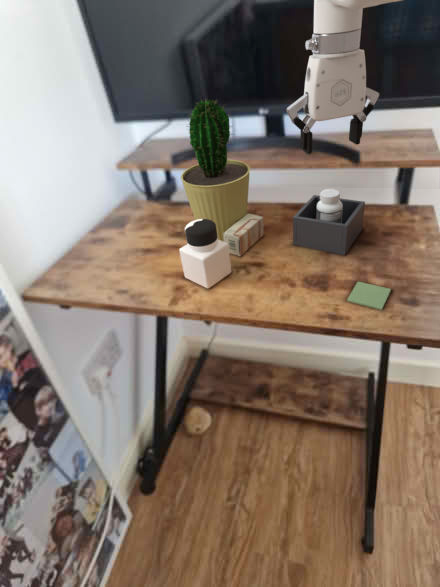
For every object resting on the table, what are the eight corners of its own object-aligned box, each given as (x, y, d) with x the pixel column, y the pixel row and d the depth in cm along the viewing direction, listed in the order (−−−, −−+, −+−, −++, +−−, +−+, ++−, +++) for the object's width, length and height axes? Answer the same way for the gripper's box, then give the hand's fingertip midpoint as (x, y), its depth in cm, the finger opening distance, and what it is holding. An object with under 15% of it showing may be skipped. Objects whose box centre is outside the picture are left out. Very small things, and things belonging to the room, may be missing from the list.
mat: (390, 290, 73) (391, 288, 73) (381, 310, 69) (382, 308, 69) (357, 282, 76) (357, 281, 75) (347, 301, 72) (347, 299, 72)
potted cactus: (218, 255, 89) (197, 111, 71) (179, 233, 100) (152, 103, 81) (267, 228, 96) (260, 91, 78) (226, 210, 106) (212, 85, 88)
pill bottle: (317, 227, 92) (318, 186, 86) (341, 228, 90) (344, 187, 85) (313, 239, 88) (315, 197, 82) (339, 241, 87) (342, 198, 81)
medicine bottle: (232, 272, 83) (226, 220, 76) (208, 289, 80) (199, 236, 72) (208, 262, 88) (200, 211, 80) (184, 278, 84) (173, 226, 77)
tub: (362, 229, 91) (365, 201, 87) (344, 255, 83) (347, 226, 79) (313, 221, 96) (313, 194, 92) (293, 245, 89) (292, 217, 85)
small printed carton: (239, 237, 85) (263, 215, 91) (222, 233, 87) (246, 212, 93) (241, 257, 88) (264, 235, 94) (224, 253, 90) (248, 231, 96)
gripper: (295, 54, 63) (295, 162, 74) (396, 37, 65) (382, 144, 75) (279, 49, 69) (281, 149, 79) (372, 34, 71) (362, 133, 81)
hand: (330, 147), depth 77 cm, fingers open, 9 cm apart
